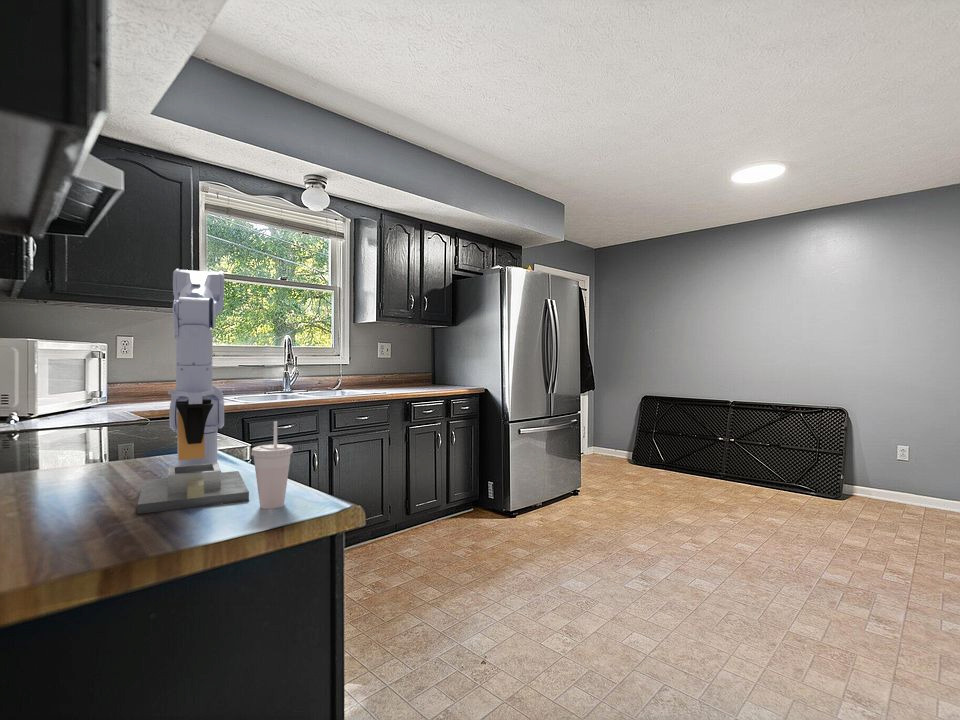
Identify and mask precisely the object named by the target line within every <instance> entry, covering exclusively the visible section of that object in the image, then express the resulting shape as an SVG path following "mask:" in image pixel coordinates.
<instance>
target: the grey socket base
mask: <svg viewBox="0 0 960 720" xmlns="http://www.w3.org/2000/svg"><path fill="white" fill-rule="evenodd" d="M167 472H168V473H167V477H161V478H159V477H158V478H150V479H143V482H142V487H141V490H140V493H139V498H138V501H137V508H136V509H137V513H136V514H137V515H140V514H141V515H142V514H150V513H151V514H152V513H157V512H165V511H173V510H182V509H190V508H191V509H192V508H199V507H207V506H215V505H216V506H218V505H223V504H233V503H239V502H240V503H241V502H248V501H250V490H249V489H248V487H247V485H246V483H245V481H244V479H243V477H242V475H241V473H240V471H239V470H236V471H235V470H234V471H224V472H223V471H222V470H221V467H220V465H219V462H217V463H207V464H195V465H183V466H178V465H175V466H168V470H167Z"/></svg>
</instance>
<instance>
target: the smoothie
mask: <svg viewBox="0 0 960 720" xmlns="http://www.w3.org/2000/svg"><path fill="white" fill-rule="evenodd" d="M293 452H294V451H293V446H292V445H290V444H279V443H278V421H277V420H275V421H273V444H262V445H257V446H255V447H252V448H251V456H252V457H253V461H254V469H255V477H256V485H257V494H258V501H259V508H260V509H262V510H274V509H279V508H282V507H284V505H285V500H286V492H287V485H288V478H289V477H288V476H289V470H290V463H291V455H292V454H293Z"/></svg>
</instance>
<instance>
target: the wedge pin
mask: <svg viewBox="0 0 960 720" xmlns="http://www.w3.org/2000/svg"><path fill="white" fill-rule="evenodd" d="M178 456H179V460H187V459H197V458H205V447H204V435H203V439H202V442H201V443H197V444H188V442H187V439H186V434H185V428H184V423H183V420H182V417H181V414H180V412H178V434H177V457H178Z"/></svg>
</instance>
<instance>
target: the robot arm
mask: <svg viewBox="0 0 960 720" xmlns="http://www.w3.org/2000/svg"><path fill="white" fill-rule="evenodd" d="M172 290H173V291H172V292H173V299H174V300H173V303H172V324H173V328H174V329H173V330H174V339H175V340H176V342H175V389H168V390H167V395H170V396H171V397H170V403H169V413H168V414H169V429H171V430H172V431H176V434H177V435H178V412H180V414H181V417H182V420H183V423H184V428H185V434H186V439H187V442H188V444H197V443H201V442H202V439H203V435H204V447H205V458H197V459H187V460H179V456H178V455H177V466H183V465H195V464H207V463H218V432H219V429H223V427H224V426H225V400H224V393H223V391H222V390H221V389H220V388H218V387H217V386H215V385H214V384H213V343H214V342H213V341H214V340H213V330H214V329H215V327H216V316H218V315H220V314H222V313H223V309H224V307H225V306H224V303H225V301H224V300H225V299H224V298H225V274H224V273H223V271H204V270H203V271H202V270H193V269H192V270H190V269H189V270H188V269H180V268H176V269H175V270H174V271H173V272H172Z"/></svg>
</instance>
